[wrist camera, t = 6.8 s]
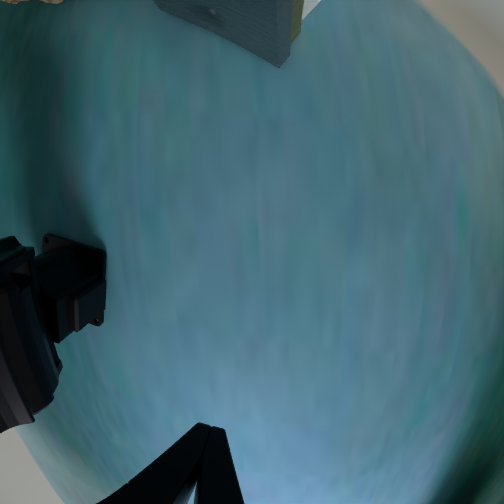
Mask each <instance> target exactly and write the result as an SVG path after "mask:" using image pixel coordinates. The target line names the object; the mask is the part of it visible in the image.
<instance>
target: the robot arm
mask: <svg viewBox="0 0 504 504" xmlns="http://www.w3.org/2000/svg"><path fill="white" fill-rule="evenodd" d="M48 239H49V242H48ZM99 254H100V256H101V259H100V258H99V256H98V255H99ZM106 258H107V257H106V253H105V252H104V251H103V250H101V249H98V248H95V247H92V246H88V245H85V244H82V243H79V242H75V241H72V240H69V239H66V238H63V237H59V236H56V235H53V234H50V233H48V234H45V235H44V236H43V245H42V254H39V255H37V256H35V251H34V247H25V246H22V245H21V244H20V243H19V242H18V240H17V239H16V237H15V236H8V237H5V238H2V239H0V433H2V432H4V431H5V430H7V429H9V428H12V427H15V426H18V425H22V424H29V423H33V422H35V419H34V417H33V415H35V414H37V413H39V412H40V411H41V410H43V409H44V408H46V407H47V406H48V405H49V404H50V403H51V402H52V401H53V399H54V395H53V393H54V391H55V389H56V387H57V385H58V383H59V375H60V372H61V370H62V368H63V365H62V363H61V360H60V359H59V357H58V354H57V351H56V348H55V345H54V342H55V343H58V344H59V343H60V342H61V341H62V340H63V339H65V338H66V337H67V336H68V335H69V334H71V333H72V332H73V331H75V332H78V331H80V330H81V329H82V328H83V327H85V326H86V325H87V324H88V323H90V324H92V325H95V326H100V325H101V324H102V323H103V321H104V310H105V302H106V279H105V272H106ZM96 318H97V319H98V321H99V322H98V321H97V320H96ZM196 482H197V484H196ZM195 485H196V490H195V498H194V504H244V500H243V497H242V493H241V490H240V486H239V482H238V479H237V475H236V471H235V467H234V464H233V460H232V456H231V452H230V448H229V444H228V440H227V436H226V432H225V430H224V429H223V428H219V427H215V426H212V427H211V426H210V425H207V424H204V423H197V424H195V425H194V426H193V427H192V428H191V429H190V430H189V431H188V432H187V433H186V434H184V435H183V436H182V437H181V438H180V439H179V440H178V441H177V442H175V443H174V444H173V445H172V446H171V447H170V448H169V449H167V450H166V451H165V452H164V453H163V454H162V455H160V456H159V457H158V458H157V459H156V460H154V461H153V462H152V463H151V464H150V465H148V466H147V467H146V468H145V469H144V470H142V471H141V472H140V473H139V474H137V475H136V476H135V477H134V478H133V479H131V480H130V481H129V482H128V483H126V484H125V485H123V486H122V487H121V488H120V489H118V490H117V491H115V492H114V493H113V494H111V495H110V496H108V497H107V498H105V499H104V500H102V501H100V502H98V503H97V504H187V503H188V501H189V499H190V497H191V494H192V492H193V490H194V488H195Z"/></svg>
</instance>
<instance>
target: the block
mask: <svg viewBox="0 0 504 504" xmlns="http://www.w3.org/2000/svg"><path fill="white" fill-rule="evenodd" d="M320 1H321V0H304V5H303V14H302V20H303V19H304V18H305V17H306V16H307V15H308V14H309V13H310V12H311V11H312V9H313V8H314V7H315V6H316V5H317V4H318V3H319V2H320Z"/></svg>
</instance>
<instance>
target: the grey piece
mask: <svg viewBox="0 0 504 504" xmlns="http://www.w3.org/2000/svg"><path fill="white" fill-rule="evenodd" d="M153 1H154V2H155V3H156V5H157V6H158V7H159V8H160V9H161V10H162V11H165V12H167V13H170V14H172V15H175V16H177V17H180V18H182V19H184V20H187V21H189V22H191V23H194V24H196V25H198V26H200V27H203V28H205V29H207V30H209V31H211V32H213V33H215V34H217V35H219V36H221V37H223V38H225V39H227V40H229V41H231V42H233V43H235V44H237V45H239V46H241V47H243V48H245V49H246V50H248V51H250V52H252V53H254V54H256V55H257V56H259V57H261V58H263V59H264V60H266V61H268V62H270V63H271V64H273V65H275V66H276V67H278V68H280V66H281V65H282V64H283V63H284V61H285V60H286V59H287V58H288V57H289V55H290V43H291V26H292V7H293V0H153Z"/></svg>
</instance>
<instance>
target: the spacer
mask: <svg viewBox="0 0 504 504" xmlns="http://www.w3.org/2000/svg"><path fill="white" fill-rule="evenodd" d="M303 5H304V0H293V7H292V26H291V42H292V41H293V40H294V39H295V38H296V36H297V35H298V34H299V33H300V30H301V22H302V14H303Z"/></svg>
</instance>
